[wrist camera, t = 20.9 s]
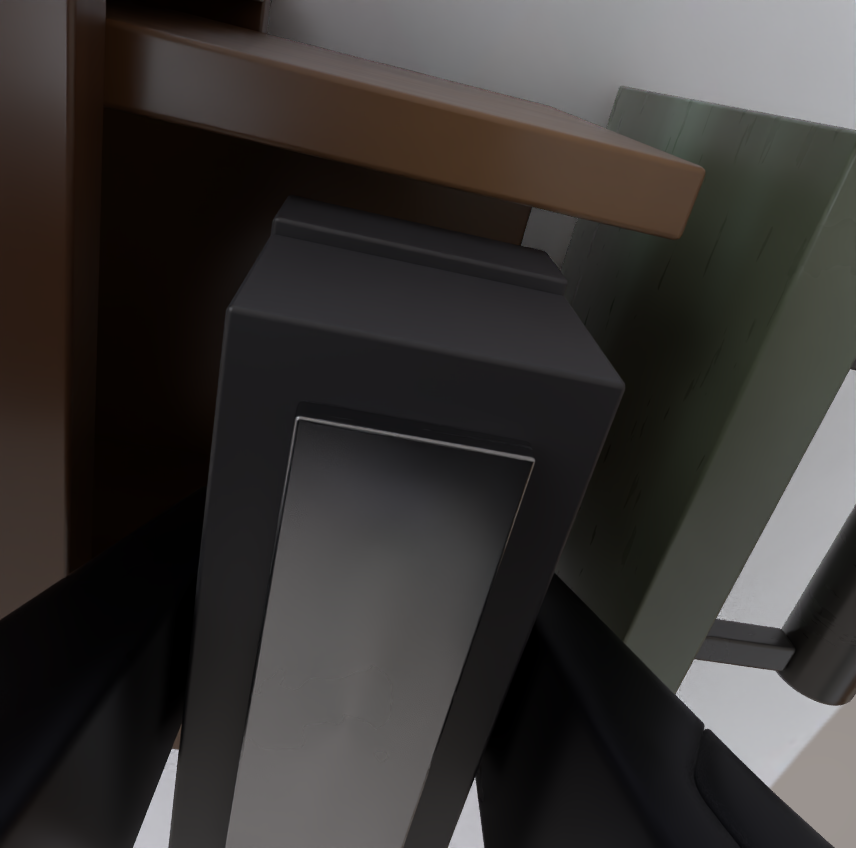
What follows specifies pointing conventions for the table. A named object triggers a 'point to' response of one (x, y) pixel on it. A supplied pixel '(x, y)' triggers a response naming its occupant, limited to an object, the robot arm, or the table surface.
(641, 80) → the table surface
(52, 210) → the cabinet
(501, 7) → the table surface
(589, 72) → the table surface
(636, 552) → the drawer
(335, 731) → the dark box
